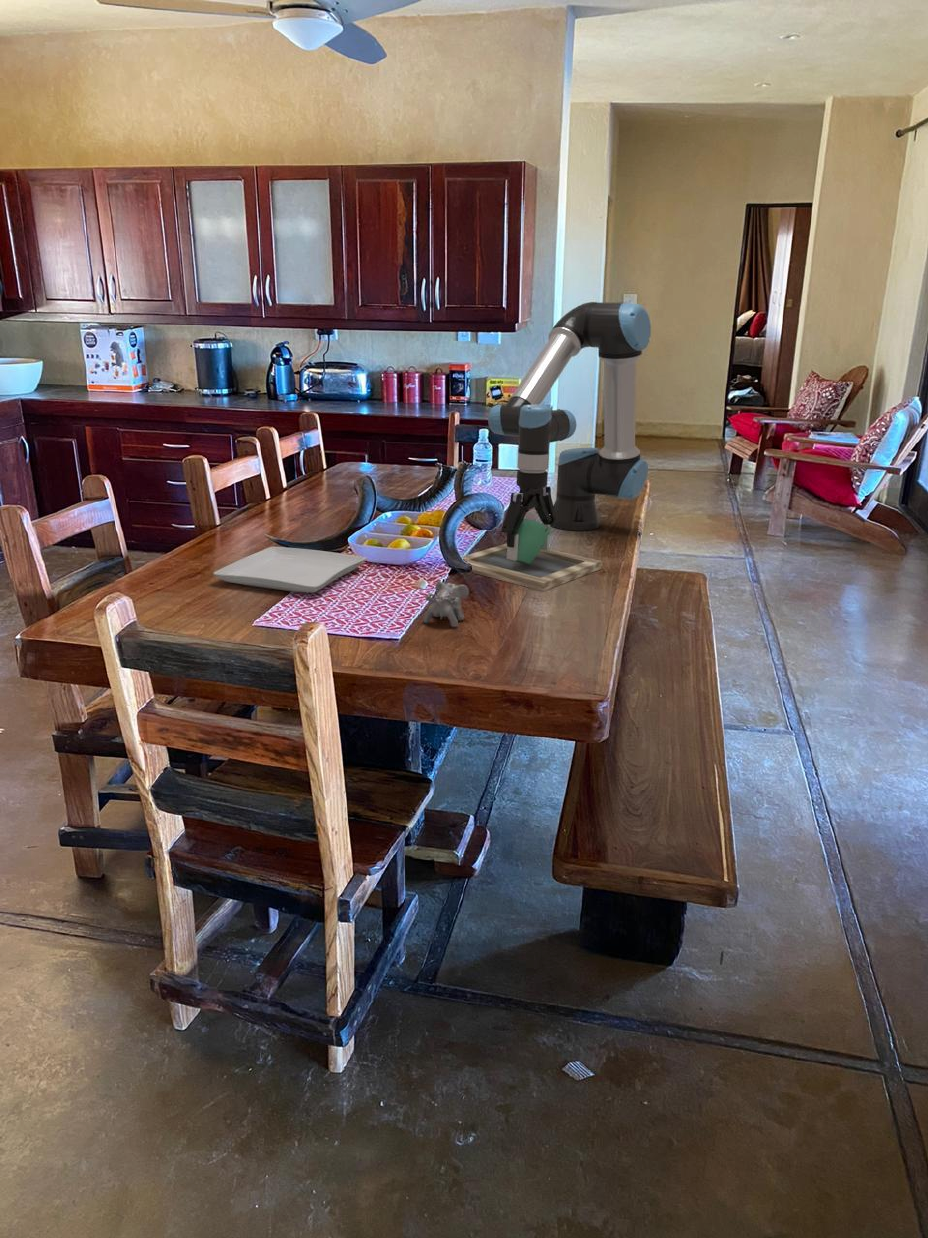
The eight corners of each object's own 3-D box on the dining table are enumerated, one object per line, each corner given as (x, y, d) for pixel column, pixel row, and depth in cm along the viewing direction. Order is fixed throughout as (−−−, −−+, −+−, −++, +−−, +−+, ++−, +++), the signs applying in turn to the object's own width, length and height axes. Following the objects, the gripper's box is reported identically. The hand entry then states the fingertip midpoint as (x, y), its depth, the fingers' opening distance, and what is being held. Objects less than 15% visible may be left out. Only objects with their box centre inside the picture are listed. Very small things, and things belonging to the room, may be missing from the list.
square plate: (368, 570, 223) (368, 555, 221) (316, 602, 198) (316, 585, 197) (272, 557, 231) (272, 543, 229) (211, 587, 206) (210, 570, 205)
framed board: (513, 548, 245) (513, 541, 244) (601, 568, 228) (602, 561, 227) (451, 567, 226) (452, 559, 225) (543, 591, 209) (543, 583, 208)
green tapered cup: (539, 564, 217) (550, 525, 217) (500, 554, 218) (511, 514, 218) (541, 571, 231) (551, 534, 232) (504, 561, 233) (515, 524, 233)
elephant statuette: (421, 628, 184) (422, 594, 181) (425, 606, 195) (426, 573, 192) (466, 631, 184) (468, 596, 181) (468, 608, 195) (469, 575, 192)
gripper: (548, 462, 230) (543, 542, 237) (489, 474, 212) (485, 560, 219) (573, 466, 225) (567, 547, 232) (514, 478, 207) (510, 567, 214)
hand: (528, 554), depth 226 cm, fingers closed on green tapered cup, 13 cm apart
